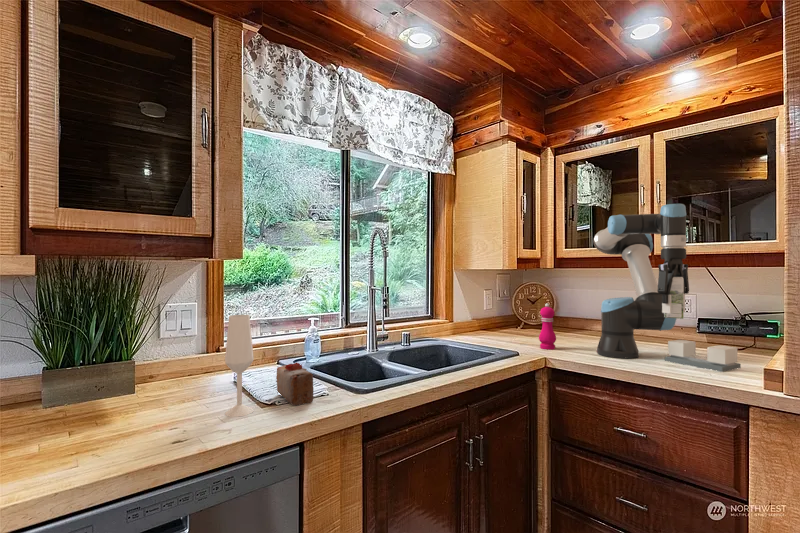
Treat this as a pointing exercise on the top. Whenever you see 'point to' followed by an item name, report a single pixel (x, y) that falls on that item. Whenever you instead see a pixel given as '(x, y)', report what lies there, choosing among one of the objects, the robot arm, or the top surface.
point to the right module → (722, 354)
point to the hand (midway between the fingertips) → (673, 312)
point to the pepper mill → (547, 329)
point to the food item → (295, 384)
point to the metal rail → (702, 359)
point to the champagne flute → (239, 357)
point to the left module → (682, 348)
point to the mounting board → (702, 364)
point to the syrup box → (676, 299)
